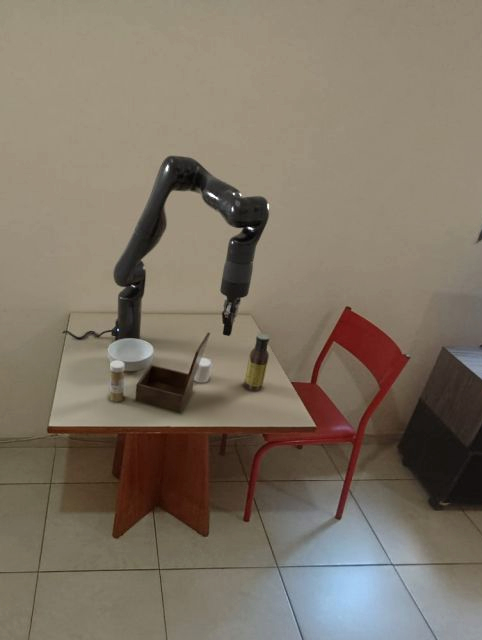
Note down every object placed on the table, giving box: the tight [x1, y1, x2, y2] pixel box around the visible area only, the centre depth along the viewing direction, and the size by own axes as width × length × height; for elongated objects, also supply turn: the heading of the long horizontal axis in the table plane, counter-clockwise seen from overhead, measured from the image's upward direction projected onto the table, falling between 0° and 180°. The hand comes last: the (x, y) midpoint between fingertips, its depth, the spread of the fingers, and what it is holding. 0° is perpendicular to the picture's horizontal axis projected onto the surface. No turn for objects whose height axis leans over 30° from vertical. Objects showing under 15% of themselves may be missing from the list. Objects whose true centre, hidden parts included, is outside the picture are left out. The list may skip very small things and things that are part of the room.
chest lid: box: [181, 332, 211, 396], centre depth 137 cm, size 16×13×1 cm
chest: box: [135, 364, 194, 414], centre depth 147 cm, size 15×13×7 cm
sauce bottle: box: [244, 333, 270, 392], centre depth 149 cm, size 6×6×20 cm
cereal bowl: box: [107, 338, 155, 372], centre depth 162 cm, size 17×17×7 cm
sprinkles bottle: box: [109, 361, 125, 403], centre depth 143 cm, size 5×5×13 cm
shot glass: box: [194, 356, 214, 384], centre depth 156 cm, size 7×7×7 cm
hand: (226, 334), depth 128 cm, fingers closed
